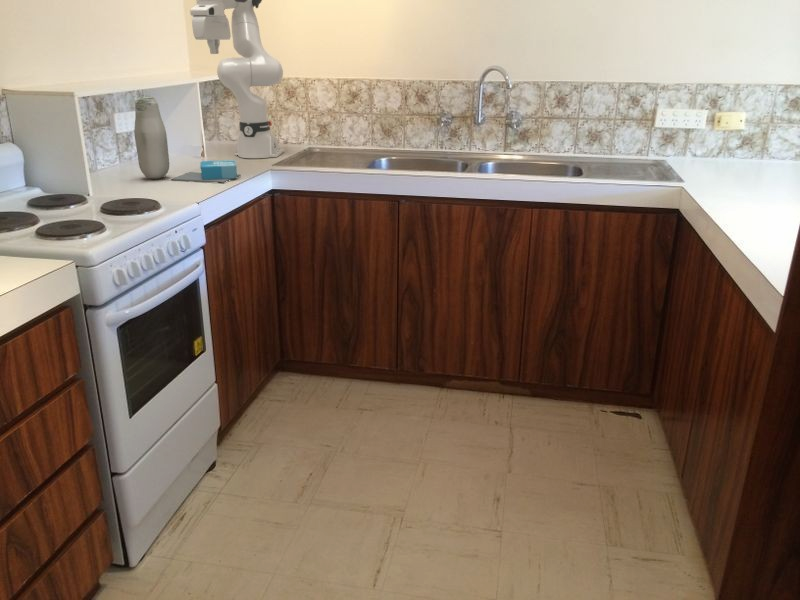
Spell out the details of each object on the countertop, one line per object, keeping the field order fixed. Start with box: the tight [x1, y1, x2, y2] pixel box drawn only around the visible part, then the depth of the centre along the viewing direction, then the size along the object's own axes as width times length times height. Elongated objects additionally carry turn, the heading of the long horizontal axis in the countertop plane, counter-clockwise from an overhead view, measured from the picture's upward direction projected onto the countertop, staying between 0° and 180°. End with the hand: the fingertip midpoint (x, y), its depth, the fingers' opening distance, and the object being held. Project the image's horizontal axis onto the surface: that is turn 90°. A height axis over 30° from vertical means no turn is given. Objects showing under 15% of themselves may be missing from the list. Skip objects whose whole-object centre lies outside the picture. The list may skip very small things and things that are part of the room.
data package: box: [200, 159, 238, 180], centre depth 238 cm, size 12×4×12 cm
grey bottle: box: [133, 95, 170, 180], centre depth 232 cm, size 10×10×28 cm
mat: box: [170, 171, 241, 184], centre depth 238 cm, size 13×20×1 cm, turn 77°
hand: (214, 53), depth 234 cm, fingers closed
